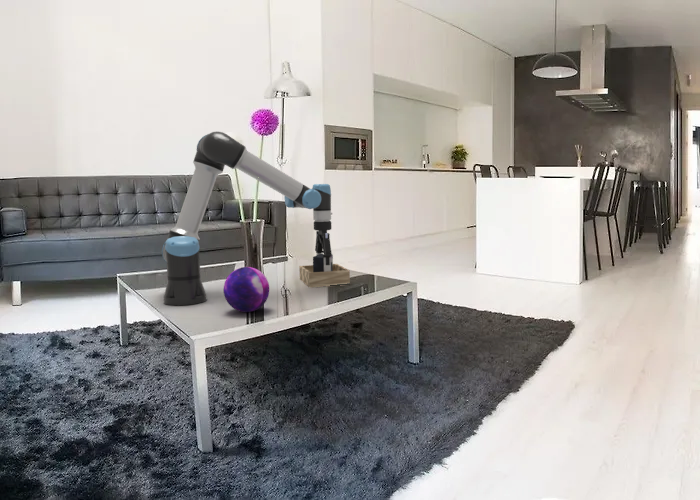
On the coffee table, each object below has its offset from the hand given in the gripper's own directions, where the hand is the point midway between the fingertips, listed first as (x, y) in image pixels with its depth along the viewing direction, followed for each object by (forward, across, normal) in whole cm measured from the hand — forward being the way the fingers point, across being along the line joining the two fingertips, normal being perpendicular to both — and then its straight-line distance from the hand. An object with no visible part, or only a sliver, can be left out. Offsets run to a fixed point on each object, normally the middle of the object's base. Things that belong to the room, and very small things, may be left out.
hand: (323, 270), depth 244 cm
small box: (+4, 0, 0) cm, 4 cm away
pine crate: (+5, 0, 0) cm, 5 cm away
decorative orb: (+5, -45, +37) cm, 58 cm away
